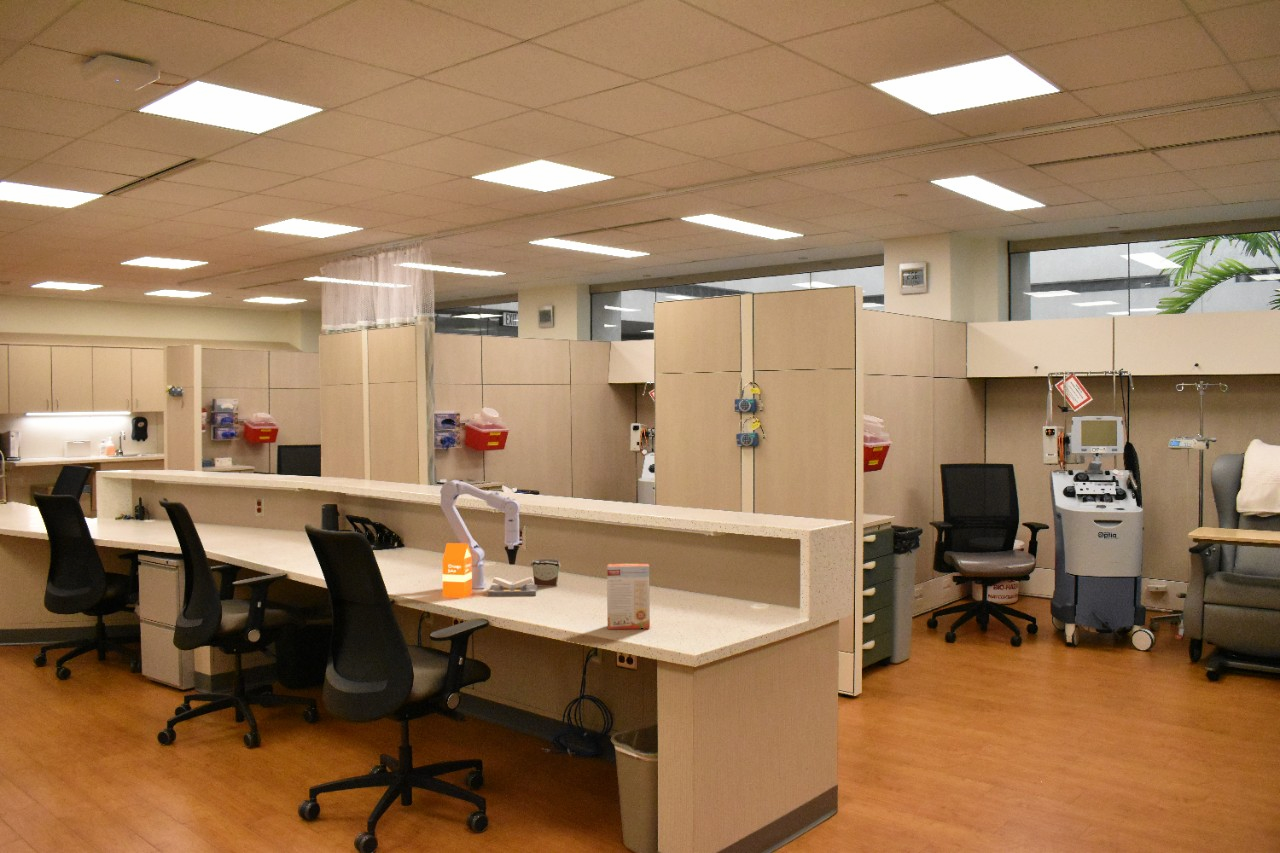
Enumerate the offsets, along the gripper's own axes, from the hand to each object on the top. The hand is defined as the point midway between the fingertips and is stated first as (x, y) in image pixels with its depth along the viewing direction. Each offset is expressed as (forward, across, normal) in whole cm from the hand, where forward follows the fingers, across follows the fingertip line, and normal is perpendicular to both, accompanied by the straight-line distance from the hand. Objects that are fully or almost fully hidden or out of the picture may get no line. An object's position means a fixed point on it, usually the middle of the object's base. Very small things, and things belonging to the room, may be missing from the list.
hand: (512, 564), depth 381 cm
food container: (+10, +6, -14) cm, 18 cm away
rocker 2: (+6, -9, -6) cm, 12 cm away
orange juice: (+10, -13, +20) cm, 26 cm away
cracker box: (+10, -68, -43) cm, 81 cm away
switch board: (+9, -9, -1) cm, 13 cm away
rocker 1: (+6, -9, +4) cm, 11 cm away
